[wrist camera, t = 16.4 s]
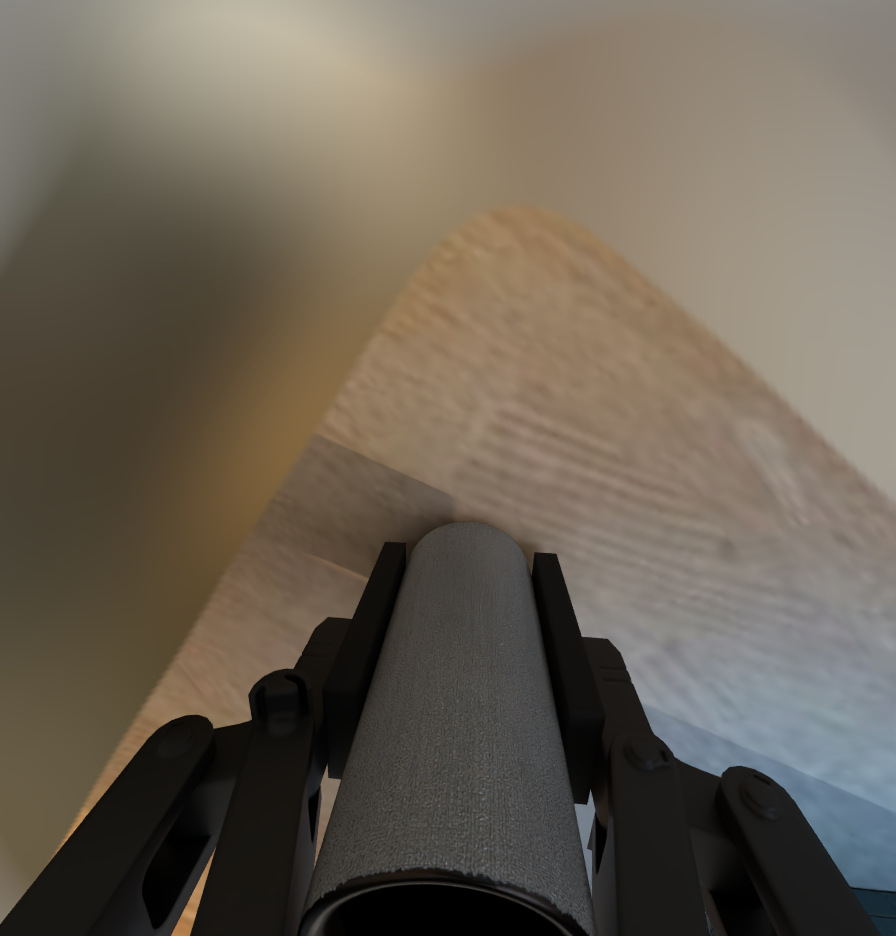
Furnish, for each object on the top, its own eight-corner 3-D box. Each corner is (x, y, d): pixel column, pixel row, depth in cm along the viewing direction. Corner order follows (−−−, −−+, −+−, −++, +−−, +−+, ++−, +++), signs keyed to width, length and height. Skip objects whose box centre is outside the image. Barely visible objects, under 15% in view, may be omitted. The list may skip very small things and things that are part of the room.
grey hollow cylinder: (386, 543, 16) (234, 906, 6) (503, 501, 15) (541, 847, 5) (436, 639, 17) (376, 1064, 7) (547, 605, 16) (645, 1039, 7)
